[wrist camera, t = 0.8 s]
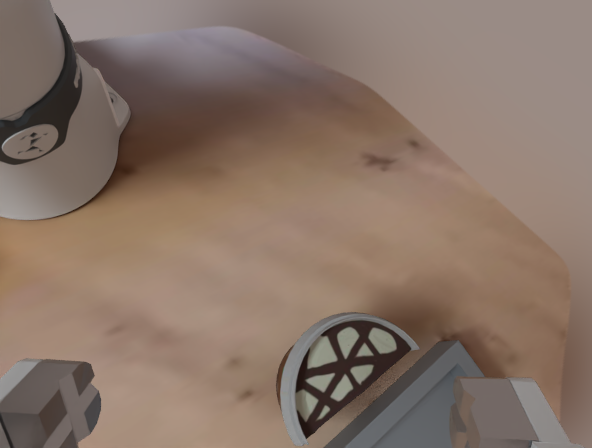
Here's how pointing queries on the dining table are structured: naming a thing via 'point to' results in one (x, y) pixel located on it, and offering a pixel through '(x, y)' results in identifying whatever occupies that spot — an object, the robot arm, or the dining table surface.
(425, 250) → the dining table surface
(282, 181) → the dining table surface
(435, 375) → the tray
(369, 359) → the food container
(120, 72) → the dining table surface
